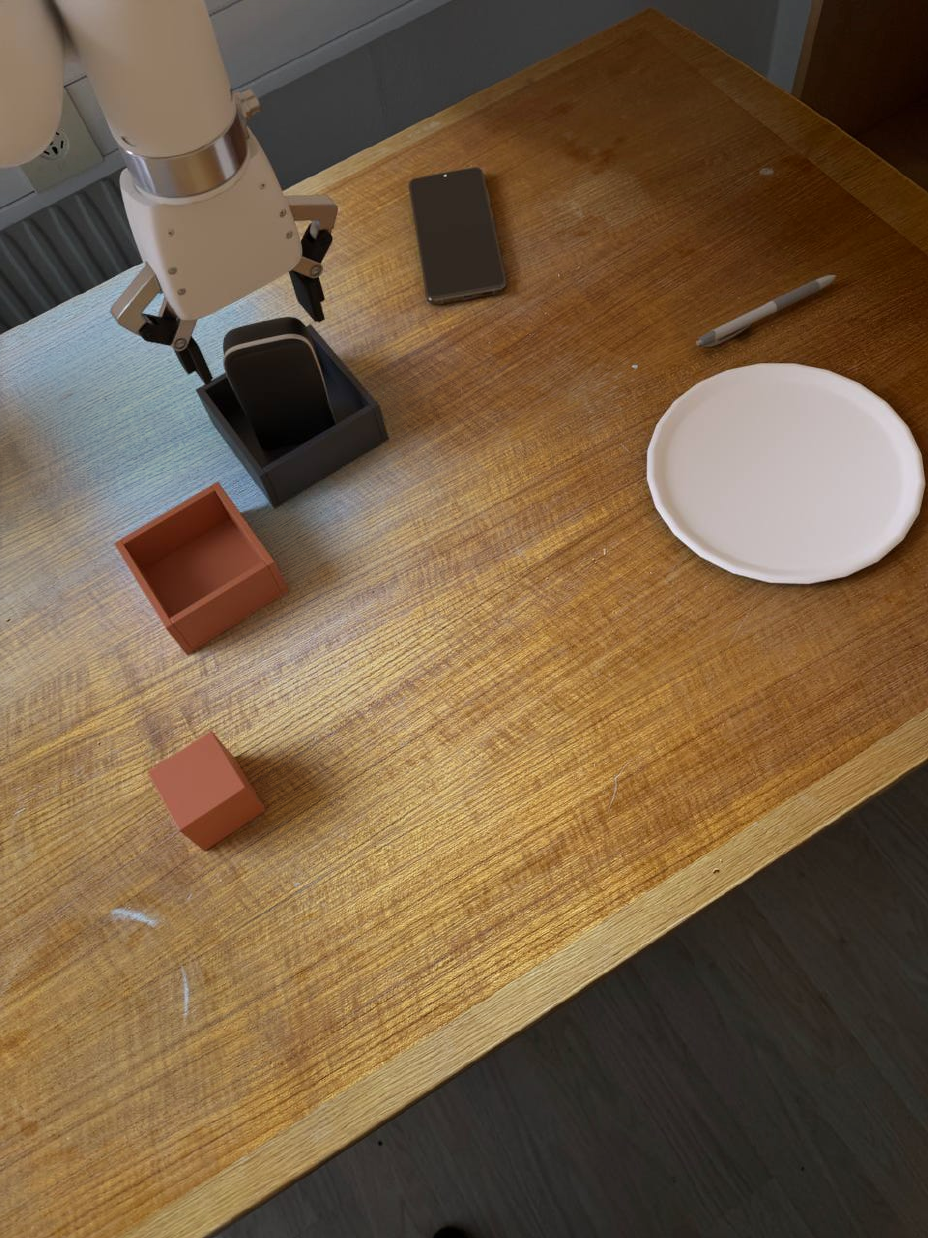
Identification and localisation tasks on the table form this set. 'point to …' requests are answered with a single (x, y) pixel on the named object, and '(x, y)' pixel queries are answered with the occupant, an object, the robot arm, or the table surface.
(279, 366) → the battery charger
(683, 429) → the plate
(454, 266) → the smartphone
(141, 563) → the clay bin
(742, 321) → the pen
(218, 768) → the clay block
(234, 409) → the dark bin
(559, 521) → the table surface
